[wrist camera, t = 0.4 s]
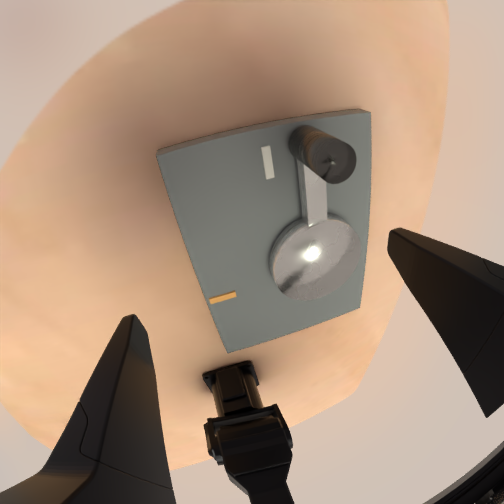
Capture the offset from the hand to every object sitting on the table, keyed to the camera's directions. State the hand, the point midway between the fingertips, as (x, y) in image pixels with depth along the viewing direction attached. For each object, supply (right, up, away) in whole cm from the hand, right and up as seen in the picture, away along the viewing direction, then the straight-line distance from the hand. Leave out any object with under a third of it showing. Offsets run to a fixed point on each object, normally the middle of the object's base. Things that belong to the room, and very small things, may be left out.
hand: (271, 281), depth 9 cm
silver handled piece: (+4, +4, +14) cm, 15 cm away
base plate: (+2, +2, +17) cm, 17 cm away
